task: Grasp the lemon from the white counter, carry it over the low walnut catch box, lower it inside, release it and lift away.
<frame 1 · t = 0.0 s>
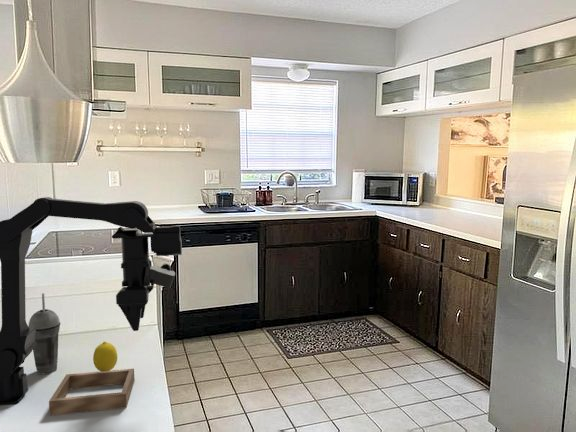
hand: (138, 324, 106), 15 cm above the worktop, fingers open, 9 cm apart
catch box: (95, 396, 103), on the worktop
lemon: (106, 373, 115), on the worktop
beverage cup: (47, 371, 117), on the worktop
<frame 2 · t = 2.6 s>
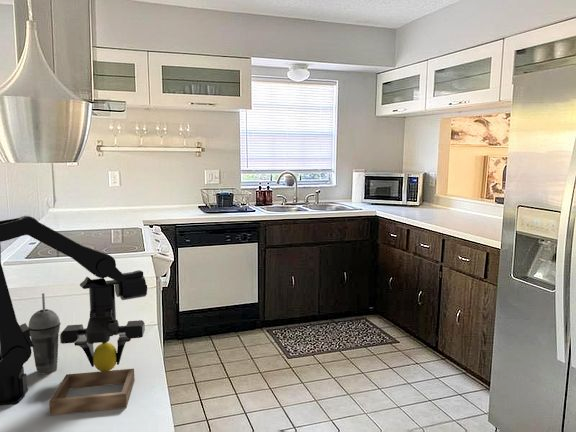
hand: (105, 365, 115), 2 cm above the worktop, fingers closed on lemon, 5 cm apart
lemon: (106, 373, 115), on the worktop, touching gripper
everything else where it was.
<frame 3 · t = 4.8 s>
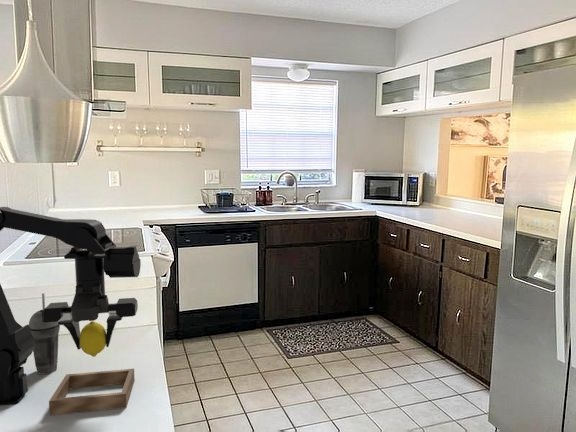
hand: (93, 347, 102), 11 cm above the worktop, fingers closed on lemon, 5 cm apart
lemon: (94, 357, 103), point 9 cm above the worktop, touching gripper
everything else where it was.
when the fingers open (3 cm above the worktop, at t = 7.1 s): lemon drops 1 cm, resting in catch box.
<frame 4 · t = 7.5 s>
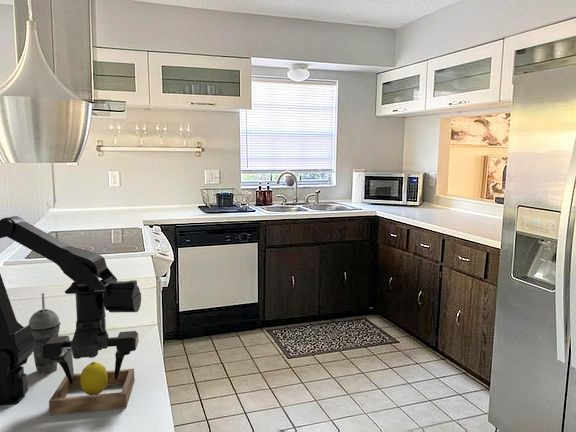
hand: (94, 381, 102), 3 cm above the worktop, fingers open, 9 cm apart
lemon: (95, 397, 103), resting in catch box
everything else where it was.
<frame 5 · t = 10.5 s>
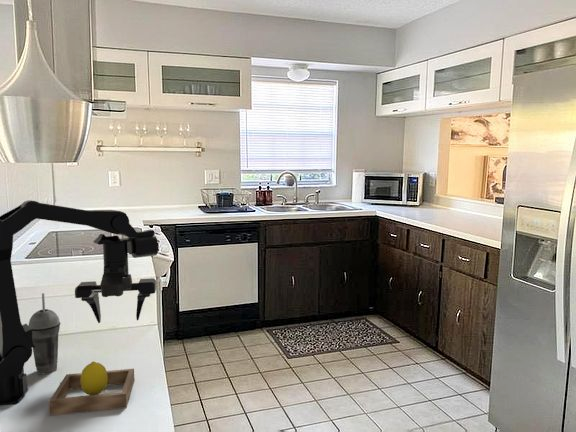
hand: (118, 321, 117), 12 cm above the worktop, fingers open, 9 cm apart
nothing on the worktop moved.
at the end: lemon inside the target area on the catch box (0.1 cm from its centre), point 0.0 cm above the catch box's base; lemon moved 12.4 cm from its start; the gripper is holding nothing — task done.
